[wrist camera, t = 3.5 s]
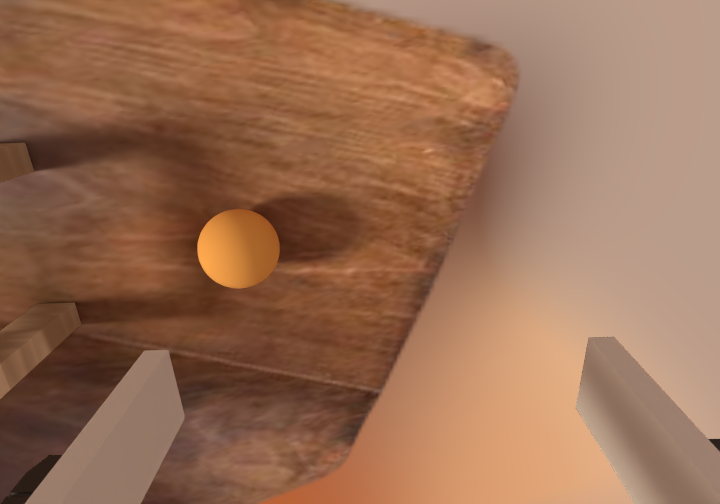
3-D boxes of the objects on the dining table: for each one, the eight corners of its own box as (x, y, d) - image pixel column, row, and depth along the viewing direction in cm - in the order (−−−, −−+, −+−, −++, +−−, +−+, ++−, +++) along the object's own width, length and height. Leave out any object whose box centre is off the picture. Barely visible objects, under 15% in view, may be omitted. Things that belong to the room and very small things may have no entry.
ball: (288, 267, 34) (276, 301, 29) (217, 269, 34) (193, 304, 29) (281, 198, 32) (267, 222, 27) (206, 200, 32) (177, 225, 27)
